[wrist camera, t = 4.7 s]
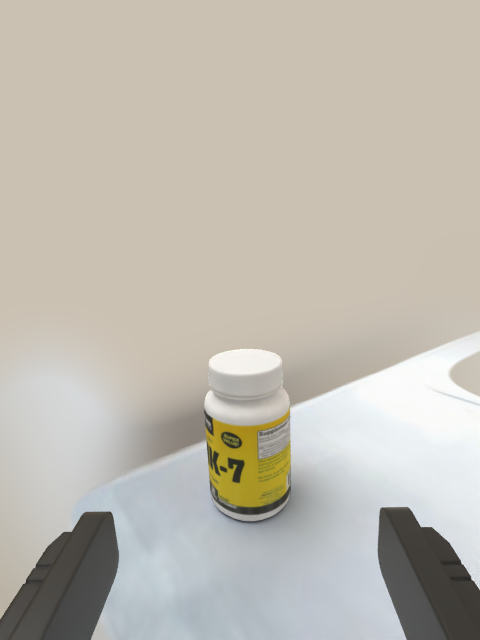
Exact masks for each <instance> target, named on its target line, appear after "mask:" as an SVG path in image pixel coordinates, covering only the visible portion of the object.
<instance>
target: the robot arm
mask: <svg viewBox="0 0 480 640" xmlns="http://www.w3.org/2000/svg"><path fill="white" fill-rule="evenodd" d="M378 559H379V565H380V569H381V573H382V576H383V578H384V581H385V584H386V586H387V589H388V592H389V594H390V597H391V599H392V602H393V605H394V607H395V610H396V612H397V615H398V618H399V620H400V623H401V625H402V628H403V631H404V633H405V636H406V638H407V640H480V590H479V589H478V587H477V585H476V584H475V582H474V581H472V580H471V576H470V575H469V573H468V571H467V570H466V568H465V567H464V565H462V564H461V560H460V559H459V557H458V556H457V554H456V553H455V551H454V550H453V548H452V546H451V545H450V543H449V542H448V541H447V540H446V539H444V538H443V537H442V536H441V535H440V534H439V533H438V532H436V531H435V530H434V529H433V528H432V527H420V525H419V523H418V521H417V520H416V518H415V516H414V515H413V513H412V511H411V510H410V509H409V508H408V507H387V508H381V509H380V516H379V535H378ZM118 562H119V551H118V545H117V538H116V532H115V525H114V519H113V515H112V513H111V512H85V513H84V514H83V515H82V516H81V518H80V519H79V521H78V523H77V524H76V526H75V528H74V529H73V531H72V532H63V533H62V534H61V535H60V536H59V537H58V538H57V539H56V540H55V541H54V542H52V543H51V544H50V545H49V546H48V547H47V548H46V550H45V552H44V553H43V555H42V556H41V558H40V559H39V561H38V562H37V564H36V567H35V568H34V569H33V570H32V572H31V573H30V575H29V576H28V578H27V579H26V583H25V584H23V585H22V587H21V589H20V590H19V592H18V593H17V595H16V596H15V598H14V599H13V601H12V602H11V604H10V606H9V607H8V609H7V610H6V612H5V613H4V615H3V616H2V618H1V619H0V640H91V637H92V635H93V632H94V630H95V627H96V625H97V622H98V620H99V617H100V615H101V612H102V609H103V607H104V604H105V602H106V599H107V597H108V594H109V592H110V589H111V587H112V584H113V582H114V579H115V576H116V573H117V568H118Z"/></svg>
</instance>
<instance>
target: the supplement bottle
mask: <svg viewBox="0 0 480 640" xmlns="http://www.w3.org/2000/svg"><path fill="white" fill-rule="evenodd" d="M282 373H283V372H282V360H281V358H280V357H279V356H278V355H277V354H275V353H272V352H269V351H265V350H259V349H238V350H231V351H226V352H222V353H220V354H217V355H215V356H213V357H212V358H211V359H210V360H209V364H208V383H209V386H210V389H211V390H210V391H209V392H208V394H207V395H206V398H205V402H204V413H205V425H206V437H207V451H208V464H209V477H210V490H211V496H212V499H213V502H214V504H215V505H216V506H217V508H218V509H219V510H221V511H222V512H223V513H225V514H226V515H228V516H230V517H232V518H235V519H238V520H242V521H258V520H263V519H266V518H269V517H271V516H273V515H275V514H276V513H278V512H279V511H280V510H281V509H282V508H283V507H284V506H285V505H286V503H287V502H288V500H289V497H290V492H291V464H290V461H291V459H290V402H289V397H288V394H287V393H286V391H285V390H284V389H283V388H282V384H283V374H282Z"/></svg>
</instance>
